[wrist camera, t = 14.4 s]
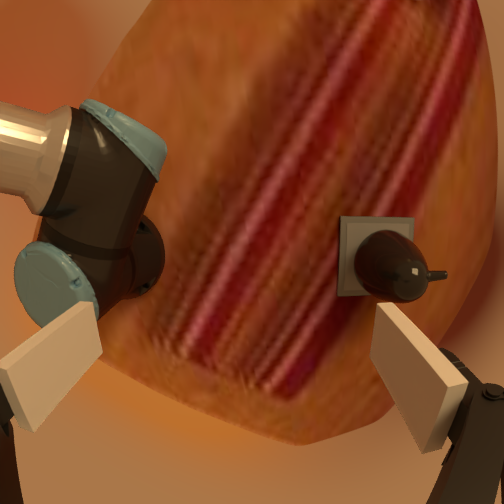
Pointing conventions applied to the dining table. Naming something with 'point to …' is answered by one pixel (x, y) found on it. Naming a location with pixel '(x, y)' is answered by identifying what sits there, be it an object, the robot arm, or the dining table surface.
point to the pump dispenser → (393, 267)
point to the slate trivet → (351, 238)
